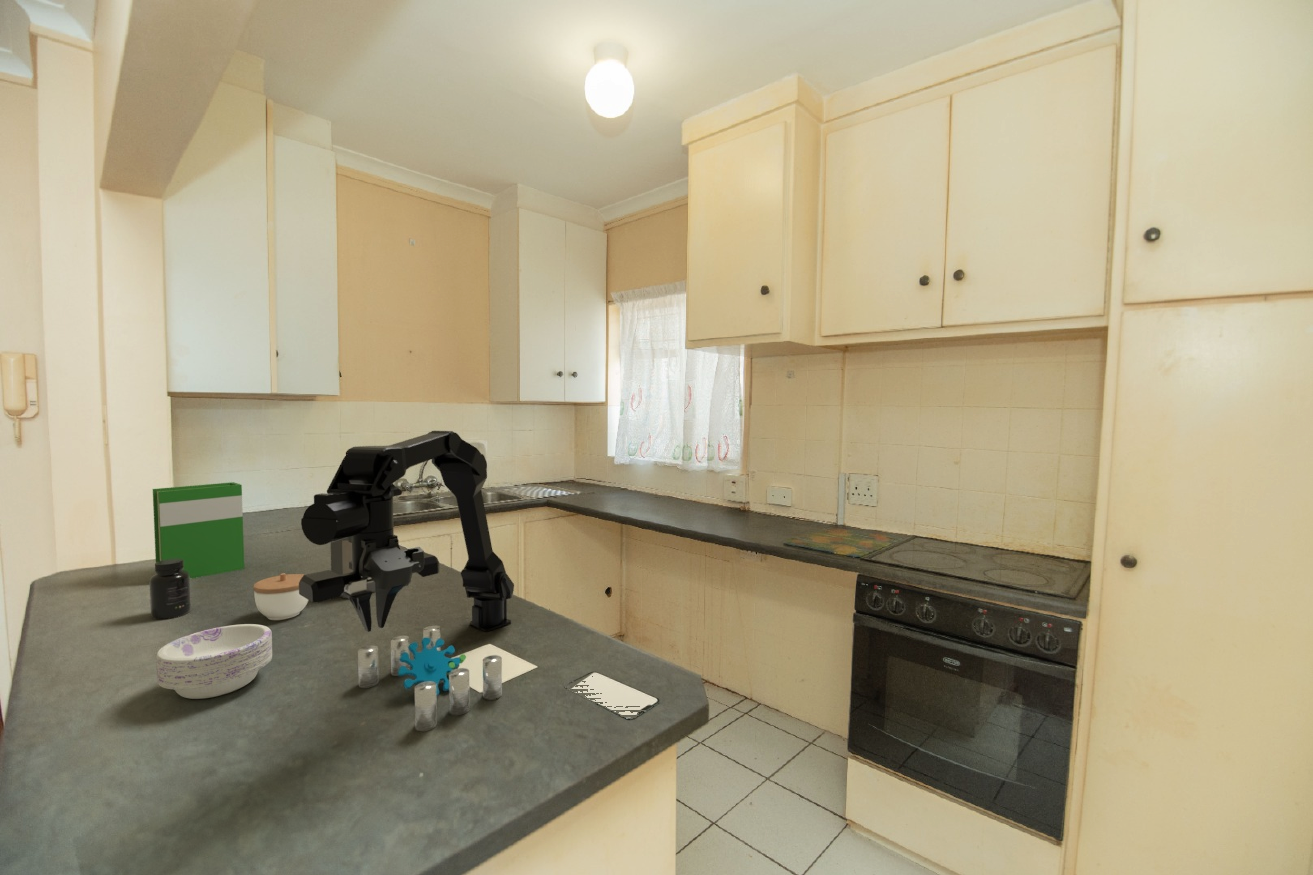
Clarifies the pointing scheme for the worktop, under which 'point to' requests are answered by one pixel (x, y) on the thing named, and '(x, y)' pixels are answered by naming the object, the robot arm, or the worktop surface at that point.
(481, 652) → the pad
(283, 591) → the lidded jar
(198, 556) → the hardback book
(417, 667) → the gear
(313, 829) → the worktop surface
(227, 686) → the paper bowls
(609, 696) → the smartphone
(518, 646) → the worktop surface
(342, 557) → the liquor
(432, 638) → the posts
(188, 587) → the supplement bottle
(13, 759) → the worktop surface
